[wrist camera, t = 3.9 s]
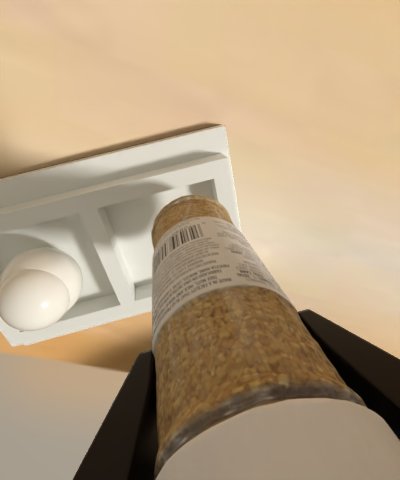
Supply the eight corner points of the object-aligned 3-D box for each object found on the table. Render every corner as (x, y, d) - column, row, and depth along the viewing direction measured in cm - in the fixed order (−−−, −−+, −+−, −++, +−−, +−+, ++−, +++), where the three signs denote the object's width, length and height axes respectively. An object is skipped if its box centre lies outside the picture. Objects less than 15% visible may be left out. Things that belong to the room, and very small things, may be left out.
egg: (98, 281, 20) (82, 338, 15) (37, 298, 20) (2, 360, 15) (73, 227, 18) (45, 273, 13) (4, 245, 18) (-48, 297, 13)
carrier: (245, 276, 23) (256, 296, 21) (29, 336, 22) (16, 363, 20) (221, 124, 18) (231, 127, 15) (-68, 195, 17) (-103, 210, 14)
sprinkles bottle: (172, 278, 17) (224, 723, 5) (135, 212, 15) (58, 707, 3) (243, 247, 16) (488, 626, 4) (216, 176, 14) (533, 524, 2)
